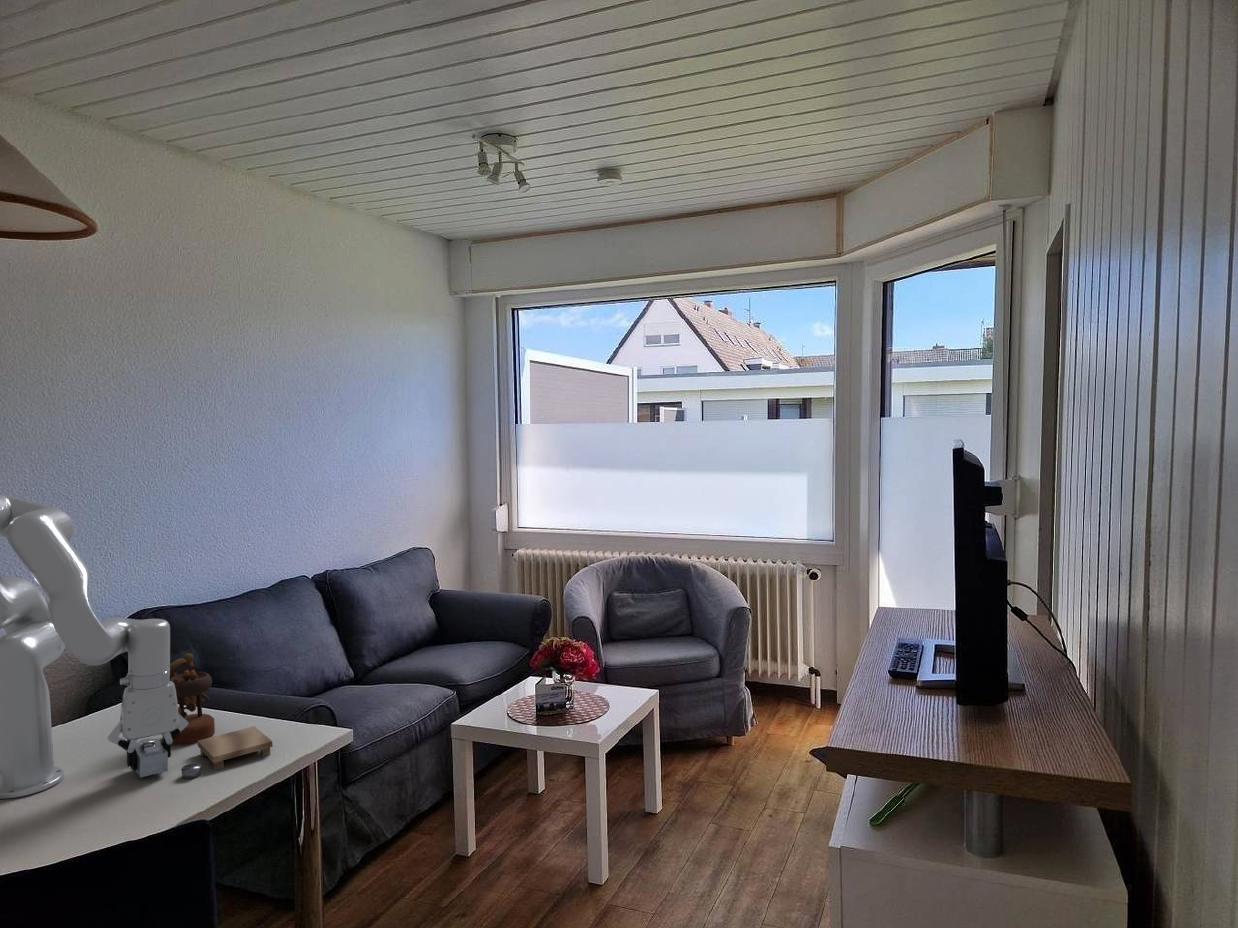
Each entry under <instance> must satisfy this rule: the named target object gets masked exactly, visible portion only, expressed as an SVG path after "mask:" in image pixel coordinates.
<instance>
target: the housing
mask: <svg viewBox="0 0 1238 928" xmlns="http://www.w3.org/2000/svg"><path fill="white" fill-rule="evenodd" d="M135 750H136V751H137V770H136V771H135V772H136V773H137V775H138V776H139V778H143V777H144V778H145V777H148V776H151V775H157V774H160V773H165V772H168V771H169V770H168V768H169V767H168V764H169V762H168V761H169V758H168V752H167V751H166V749H165V748H164V747H163V746H162V744H161V741H160V740H159V738H151V737H150V738H149V737H148V738H143V739H141V740H139V741H138V742H137V743H136V746H135Z"/></svg>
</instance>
